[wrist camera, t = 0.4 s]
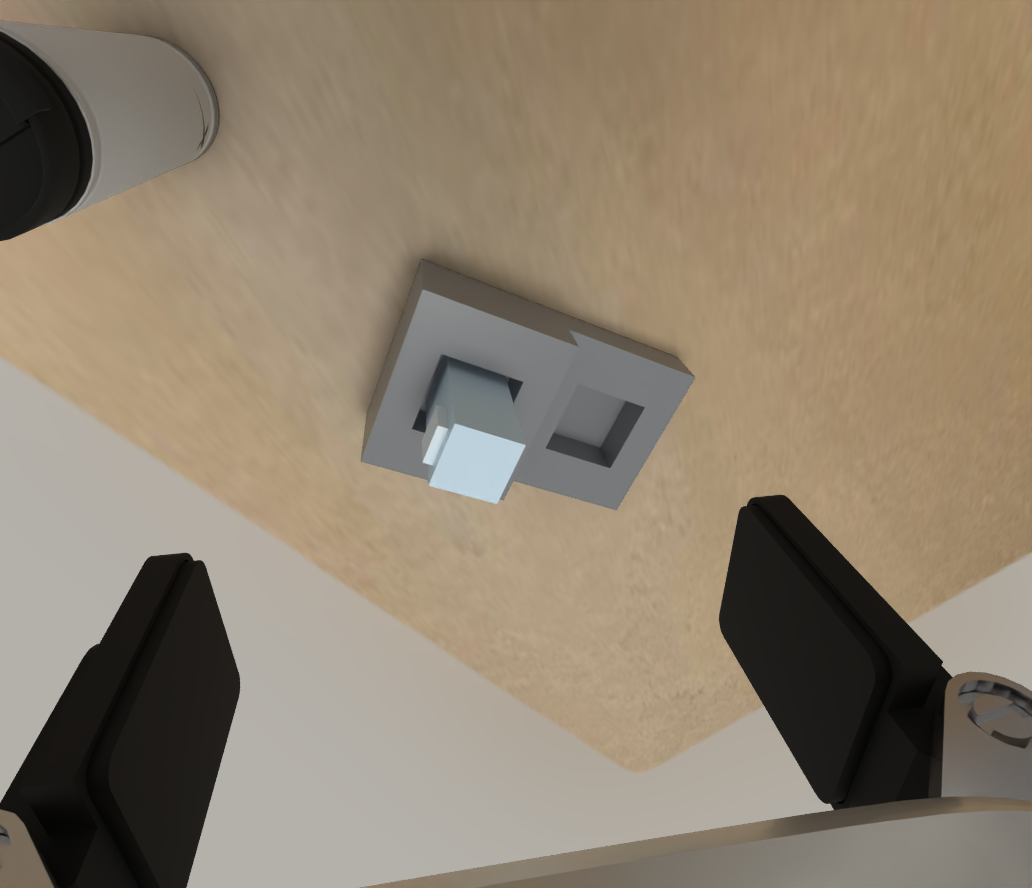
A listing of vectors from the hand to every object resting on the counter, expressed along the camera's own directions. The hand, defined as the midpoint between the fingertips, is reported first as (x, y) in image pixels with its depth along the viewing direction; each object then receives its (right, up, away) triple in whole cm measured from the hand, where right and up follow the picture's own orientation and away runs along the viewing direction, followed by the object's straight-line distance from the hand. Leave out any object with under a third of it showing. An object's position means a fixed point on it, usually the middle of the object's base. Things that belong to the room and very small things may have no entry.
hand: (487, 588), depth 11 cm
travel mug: (-19, +21, +24) cm, 38 cm away
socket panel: (+1, +7, +36) cm, 37 cm away
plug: (-3, +6, +31) cm, 32 cm away
